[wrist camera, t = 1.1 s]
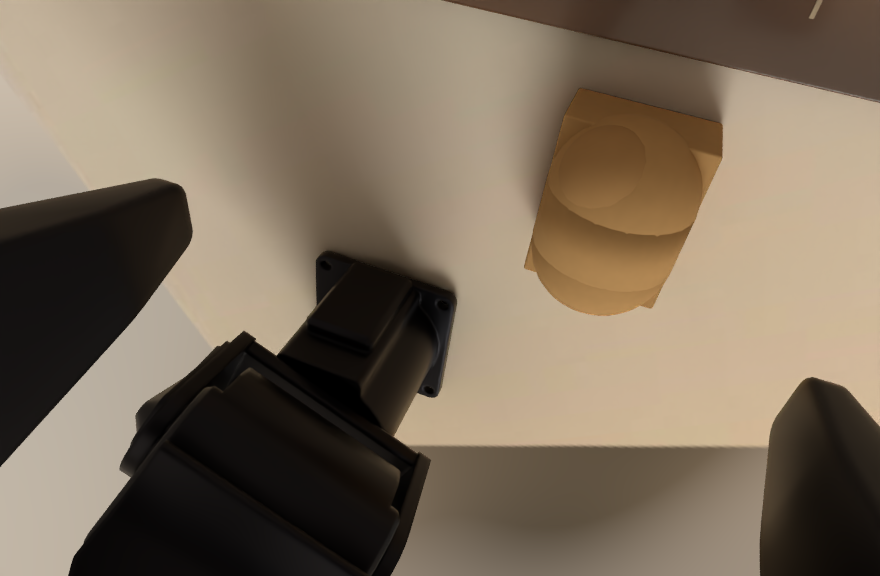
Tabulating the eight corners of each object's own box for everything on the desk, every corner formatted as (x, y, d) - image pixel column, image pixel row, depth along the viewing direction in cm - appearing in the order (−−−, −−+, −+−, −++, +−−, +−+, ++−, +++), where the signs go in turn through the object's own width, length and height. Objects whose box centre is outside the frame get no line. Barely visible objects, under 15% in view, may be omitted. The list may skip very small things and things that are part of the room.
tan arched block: (654, 278, 22) (640, 363, 18) (536, 241, 23) (503, 316, 19) (729, 110, 18) (730, 180, 14) (582, 74, 19) (550, 131, 15)
